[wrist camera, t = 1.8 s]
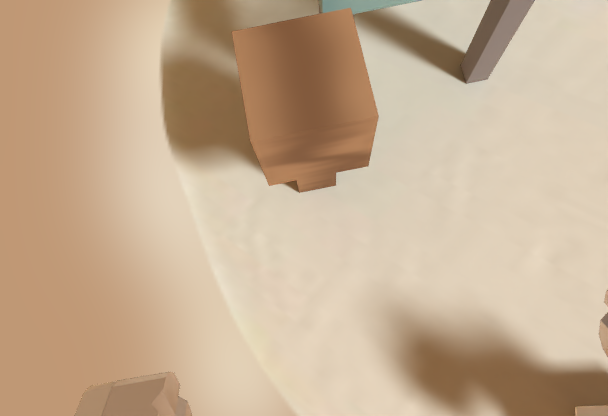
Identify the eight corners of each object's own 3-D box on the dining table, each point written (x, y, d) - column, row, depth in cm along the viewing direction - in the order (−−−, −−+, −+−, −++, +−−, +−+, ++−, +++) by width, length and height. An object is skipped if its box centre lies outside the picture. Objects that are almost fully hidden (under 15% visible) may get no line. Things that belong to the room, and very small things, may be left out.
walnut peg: (344, 128, 39) (350, 7, 25) (360, 201, 37) (378, 115, 23) (269, 144, 39) (231, 31, 25) (282, 216, 37) (250, 141, 23)
